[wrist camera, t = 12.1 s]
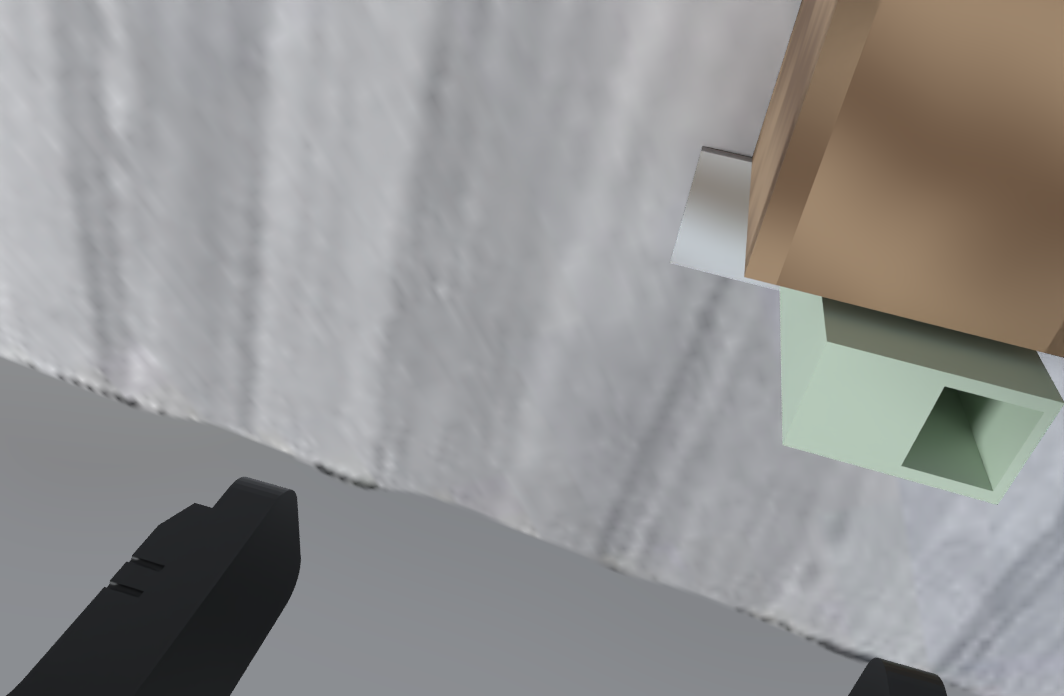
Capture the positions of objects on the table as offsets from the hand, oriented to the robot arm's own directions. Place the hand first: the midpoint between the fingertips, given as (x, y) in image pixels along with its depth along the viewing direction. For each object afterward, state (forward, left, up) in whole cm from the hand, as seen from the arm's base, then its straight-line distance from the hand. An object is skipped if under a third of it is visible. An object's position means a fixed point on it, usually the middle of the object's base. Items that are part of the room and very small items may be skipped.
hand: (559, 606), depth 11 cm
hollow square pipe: (+3, +8, -24) cm, 25 cm away
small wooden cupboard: (-2, +7, -24) cm, 25 cm away
